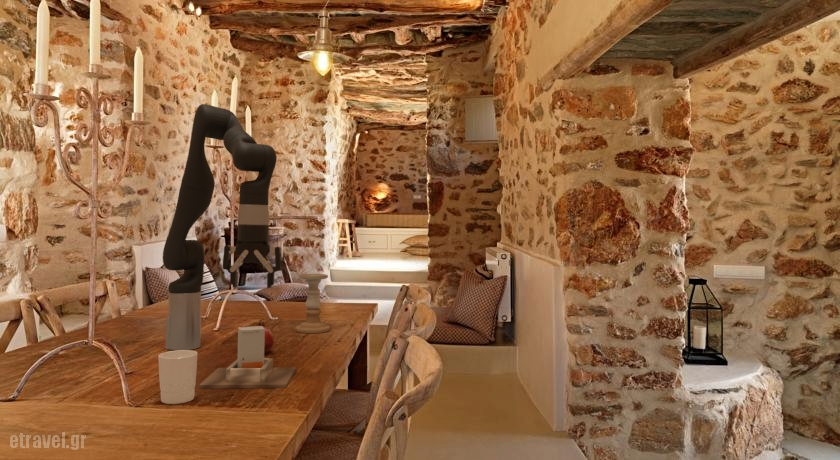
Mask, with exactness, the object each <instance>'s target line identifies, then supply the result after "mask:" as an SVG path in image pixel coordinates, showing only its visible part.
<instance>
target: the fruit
mask: <svg viewBox="0 0 840 460" xmlns="http://www.w3.org/2000/svg"><path fill="white" fill-rule="evenodd" d="M255 326H263V328H264V329H265V344H264V354H267V353H268V352H270V350H271V349H272V348H273V346H274V343H275V337H274V335H273V332H272V330H271V329H269V328H267V326H266V324H265V321H262V319H261V320H260V321H259V323H258V324H256V325H255Z"/></svg>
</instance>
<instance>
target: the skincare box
mask: <svg viewBox="0 0 840 460" xmlns="http://www.w3.org/2000/svg"><path fill="white" fill-rule="evenodd" d="M264 344H265V329H264V328H263V326H256V325H253V326H241V327H237V359H238V360H237V368H262V366H263V365H264V358H265V353H264Z"/></svg>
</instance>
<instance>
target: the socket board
mask: <svg viewBox="0 0 840 460" xmlns="http://www.w3.org/2000/svg"><path fill="white" fill-rule="evenodd" d="M237 360H238V358H237V359H236V360H234V361H233V362H232V363H231V364H230V365H229V366H227V367H217V368H216V369H215V370H214V371H213V372H211V374H210V375H209V376H207V377H206V378H205V379H204V380H203V381H202V382H201V383H200V384H198V389H199V390H200V389H203V390H204V389H207V390H208V389H214V390H215V389H286V388H287V387H288V385H289V383H290V381H291V380H292V377H293V376H294V374H295V372H296V371H297V369H296V368H297V367H295V366H292V367H290V366H289V367H285V366H283V367H276V366H275V367H274V358H271V357H270V358H266V357H264V365H263V366H262V368H237Z"/></svg>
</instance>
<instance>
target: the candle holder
mask: <svg viewBox="0 0 840 460" xmlns="http://www.w3.org/2000/svg"><path fill="white" fill-rule="evenodd" d="M298 278H299V279H301V280H305V281H306V284H307V285H308V288H307V289H306V291H305V292H306V293H307V297H306V300H305V307H306V308H307V309H305V311H304V313H305V314H306V319H305V320H306V321H304V322H300V324H298V325H297V326H296V327H295V332H297V333H301V334H323V333H327V332H329V331H331V330H330V329H331V326H330V325H329V324H326V323H325V322H323V321H320V320H321V319H320V315H321V313H322V310H321V309H320V307H321V304H322V303H321V300H320V295H319V294H320V292H321V290H320V288H319V284H320V283H321V281H322V280H325V279H328V278H329V275H328V274H325V273H305V274H298Z"/></svg>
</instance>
